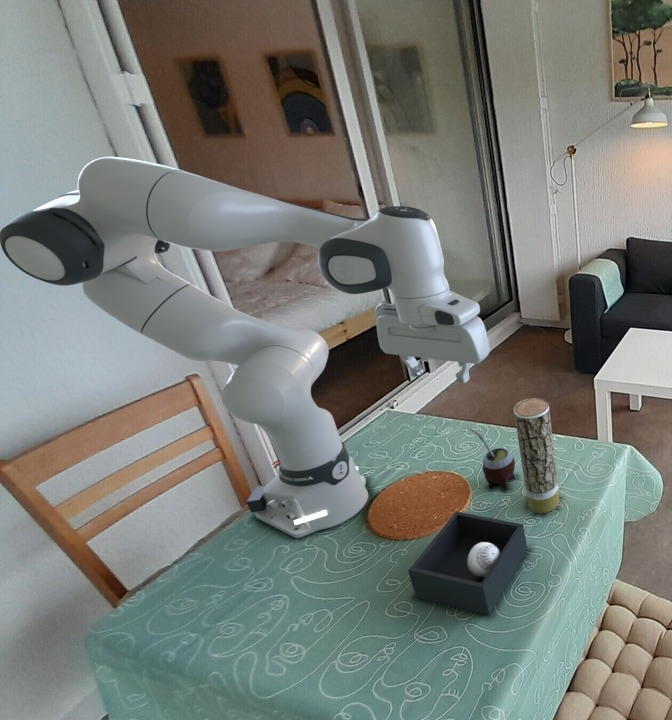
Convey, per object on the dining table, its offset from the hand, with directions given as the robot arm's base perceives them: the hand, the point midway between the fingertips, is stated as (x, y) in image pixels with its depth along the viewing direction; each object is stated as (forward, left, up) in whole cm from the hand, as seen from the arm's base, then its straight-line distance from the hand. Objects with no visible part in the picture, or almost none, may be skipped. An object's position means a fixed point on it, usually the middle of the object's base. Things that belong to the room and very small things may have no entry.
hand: (440, 378), depth 90 cm
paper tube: (+13, +8, -34) cm, 38 cm away
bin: (+8, -12, -34) cm, 37 cm away
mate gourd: (0, +12, -34) cm, 36 cm away
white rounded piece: (+9, -12, -32) cm, 35 cm away
